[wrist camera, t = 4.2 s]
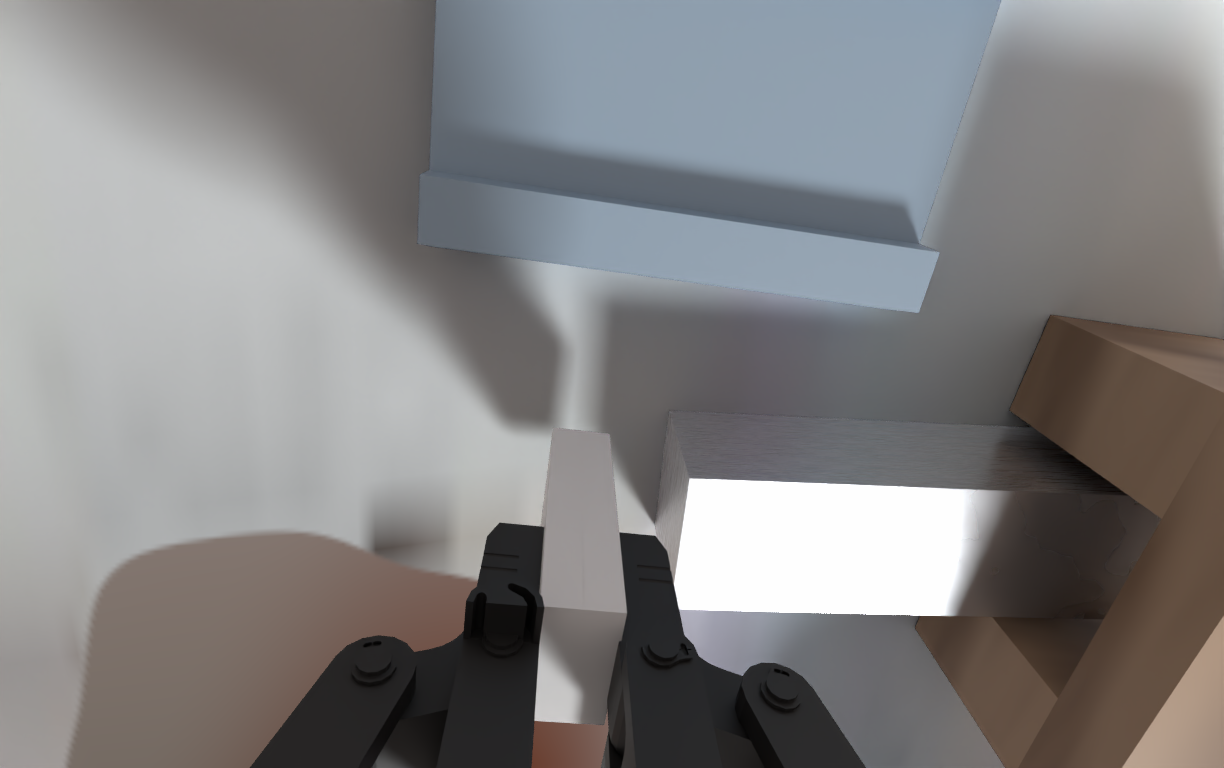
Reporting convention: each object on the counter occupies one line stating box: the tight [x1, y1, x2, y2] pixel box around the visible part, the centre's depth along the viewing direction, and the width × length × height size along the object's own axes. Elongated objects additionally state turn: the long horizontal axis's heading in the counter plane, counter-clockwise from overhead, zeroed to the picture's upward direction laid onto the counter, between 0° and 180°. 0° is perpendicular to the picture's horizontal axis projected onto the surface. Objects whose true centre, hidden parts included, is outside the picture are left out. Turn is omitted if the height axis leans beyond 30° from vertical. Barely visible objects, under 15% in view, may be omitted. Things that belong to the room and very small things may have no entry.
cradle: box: [417, 0, 1001, 313], centre depth 14 cm, size 12×9×2 cm
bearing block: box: [915, 315, 1224, 768], centre depth 17 cm, size 6×12×8 cm, turn 171°
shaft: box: [655, 410, 1161, 619], centre depth 19 cm, size 15×4×4 cm, turn 85°
